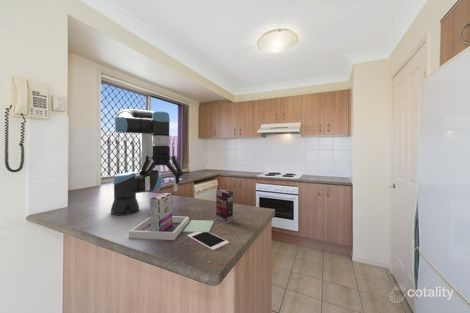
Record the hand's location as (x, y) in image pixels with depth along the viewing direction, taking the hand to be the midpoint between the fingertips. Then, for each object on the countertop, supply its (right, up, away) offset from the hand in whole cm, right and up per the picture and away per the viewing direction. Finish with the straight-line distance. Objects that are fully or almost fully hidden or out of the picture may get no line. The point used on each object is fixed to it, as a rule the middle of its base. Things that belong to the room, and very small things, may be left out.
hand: (161, 190), depth 93 cm
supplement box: (+29, -19, +14) cm, 37 cm away
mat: (+17, -19, +5) cm, 26 cm away
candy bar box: (0, -19, +1) cm, 19 cm away
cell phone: (+23, -20, -9) cm, 31 cm away
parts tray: (0, -19, +1) cm, 19 cm away
